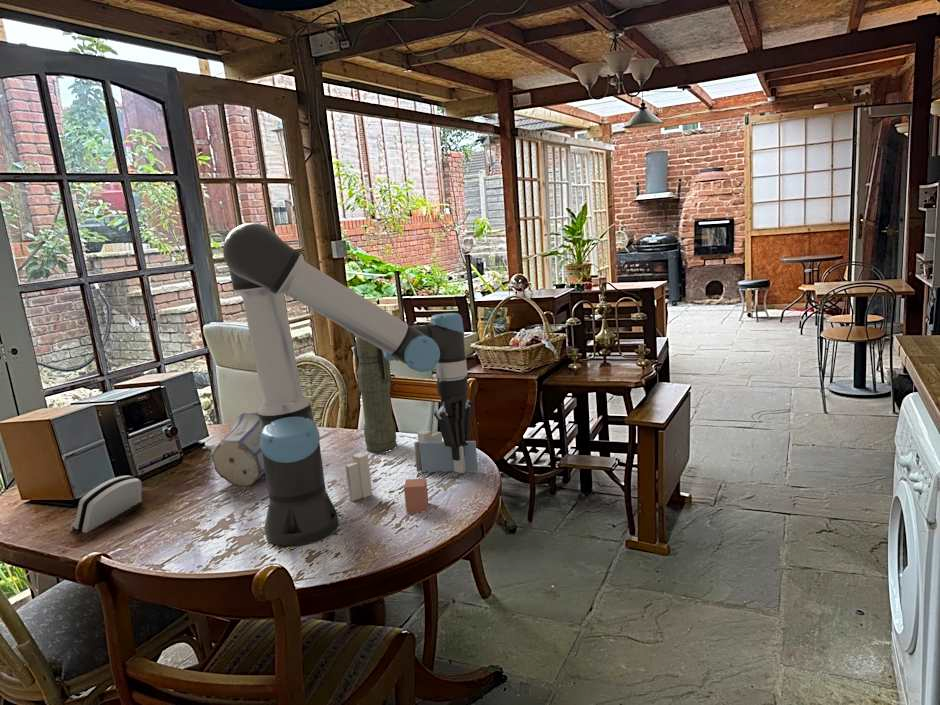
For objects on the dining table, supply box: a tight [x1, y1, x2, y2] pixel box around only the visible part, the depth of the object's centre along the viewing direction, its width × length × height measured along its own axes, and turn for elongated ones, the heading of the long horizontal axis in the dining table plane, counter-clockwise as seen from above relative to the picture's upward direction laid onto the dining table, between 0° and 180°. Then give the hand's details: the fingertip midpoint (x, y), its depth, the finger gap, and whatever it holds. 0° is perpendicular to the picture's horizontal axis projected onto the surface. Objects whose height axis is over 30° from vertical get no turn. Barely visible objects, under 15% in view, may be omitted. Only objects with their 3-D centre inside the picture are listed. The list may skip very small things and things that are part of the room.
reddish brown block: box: [403, 477, 429, 514], centre depth 147 cm, size 4×4×6 cm
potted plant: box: [211, 411, 265, 487], centre depth 180 cm, size 18×18×30 cm
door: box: [413, 440, 479, 473], centre depth 166 cm, size 16×1×8 cm, turn 80°
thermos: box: [353, 335, 398, 454], centre depth 186 cm, size 9×12×35 cm
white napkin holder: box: [69, 475, 142, 534], centre depth 156 cm, size 17×5×10 cm, turn 163°
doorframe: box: [345, 429, 443, 502], centre depth 163 cm, size 29×2×10 cm, turn 134°
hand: (459, 471), depth 163 cm, fingers closed
